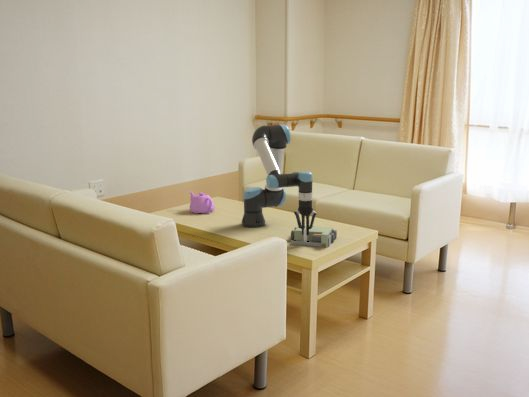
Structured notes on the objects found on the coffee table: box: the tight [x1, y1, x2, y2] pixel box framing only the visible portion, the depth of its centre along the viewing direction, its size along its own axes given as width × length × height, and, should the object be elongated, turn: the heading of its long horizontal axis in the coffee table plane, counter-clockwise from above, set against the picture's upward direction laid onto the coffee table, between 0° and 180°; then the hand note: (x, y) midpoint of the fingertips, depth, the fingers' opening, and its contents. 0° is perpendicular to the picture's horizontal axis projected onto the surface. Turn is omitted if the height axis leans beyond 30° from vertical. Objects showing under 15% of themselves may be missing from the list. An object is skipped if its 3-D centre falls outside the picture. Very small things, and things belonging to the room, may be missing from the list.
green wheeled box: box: [290, 225, 338, 248], centre depth 318 cm, size 24×20×7 cm
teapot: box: [189, 190, 216, 214], centre depth 396 cm, size 25×18×14 cm
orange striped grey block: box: [312, 234, 321, 243], centre depth 311 cm, size 8×5×5 cm, turn 72°
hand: (305, 240), depth 314 cm, fingers closed
